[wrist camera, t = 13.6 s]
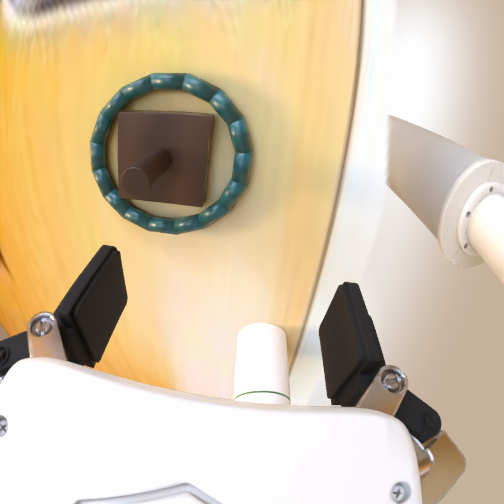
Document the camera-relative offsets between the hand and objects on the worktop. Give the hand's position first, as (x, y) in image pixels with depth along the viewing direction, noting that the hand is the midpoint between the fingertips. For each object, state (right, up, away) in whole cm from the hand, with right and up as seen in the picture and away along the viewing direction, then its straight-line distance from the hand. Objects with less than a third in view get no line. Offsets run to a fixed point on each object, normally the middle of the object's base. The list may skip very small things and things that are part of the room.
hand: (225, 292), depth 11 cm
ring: (-7, +11, +13) cm, 18 cm away
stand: (-7, +11, +14) cm, 19 cm away
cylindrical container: (+3, -11, +29) cm, 31 cm away
